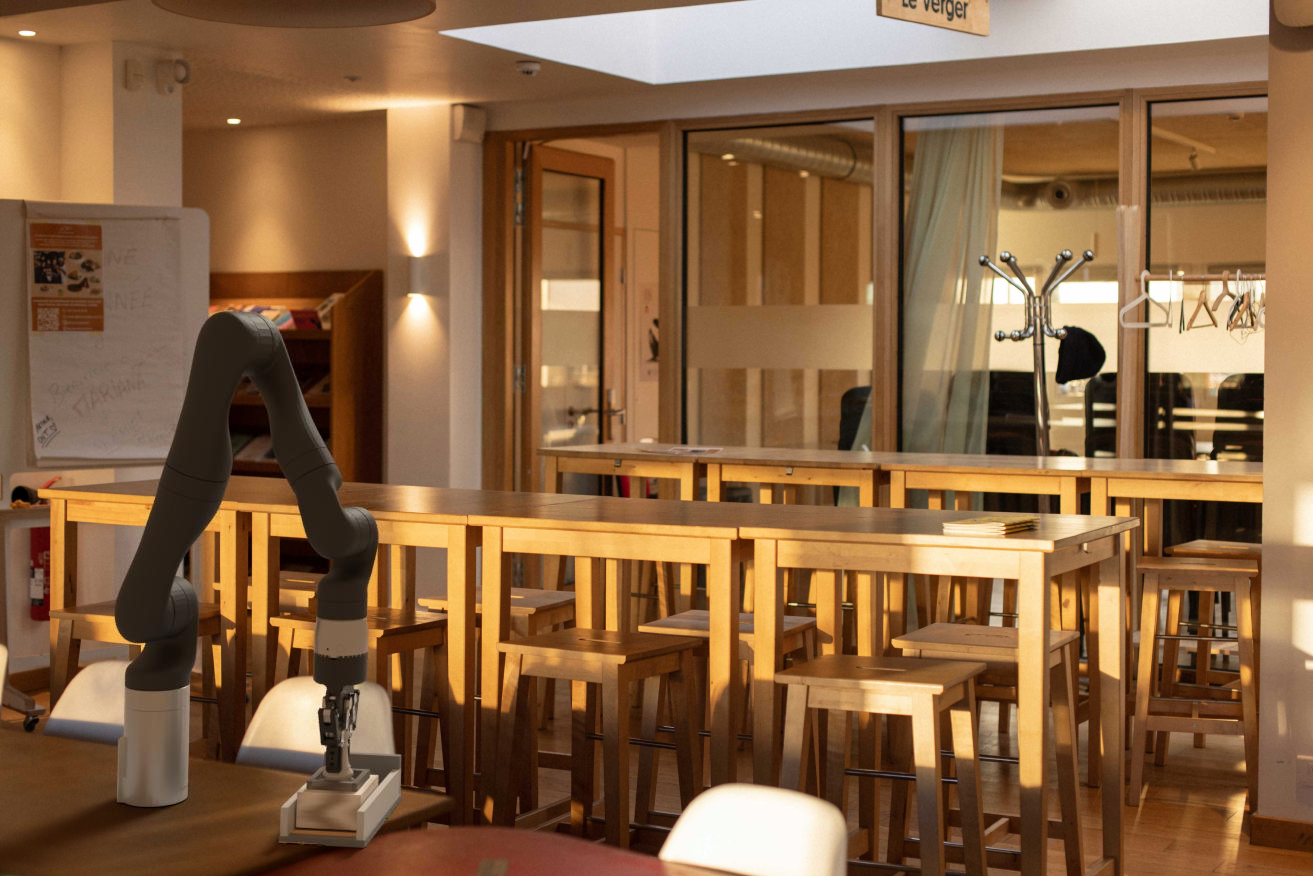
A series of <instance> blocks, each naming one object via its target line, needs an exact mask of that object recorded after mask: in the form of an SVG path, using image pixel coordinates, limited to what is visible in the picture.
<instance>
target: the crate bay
mask: <svg viewBox="0 0 1313 876" xmlns="http://www.w3.org/2000/svg"><path fill="white" fill-rule="evenodd" d="M323 754H324V755H323V756H324V757H323V766H322V767H326V750H325V751H324V753H323ZM349 764H350V766H351V767H350V768H353V769H370V775H378V787H377V788H376V790H375V791H374V792H373V793H372V794H371V795H370V797H369V798H368V799H367V800H366V801H365V803H364V804H363V805H362V806H361V807H360V808H359V810H358V811H357V830H338V829H319V828H300V827H296V816H297V792H298V791H299V790H300V789H301V788H302V787H303V786H304V785H305V784H306V783H307V781H306V782H305V783H304V784H303V785H302V786H301V787H300V788H299V789H298V790H297V791H296V792H295V793H294V794H293V795H292V796H291V797H290V798H288V799H287V801H286V802H284V804H283V805H282V806H280V818H279V819H280V822H279V824H280V828H279V835H278V842H279V841H285V842H286V841H287V842H301V843H302V842H304V843H305V842H306V843H318V844H323V845H325V846H327V847H342V848H344V847H345V848H360V849H361V848H362V849H363V848H364V849H365V848H366V846H368V844H369V843H370V841H371V840H372V839H373V838H374V836H375V835H376V834H377V832H379V830H380V829H381V827H382V826H383V825H384V823H385V822H386V821H385V819H386V818H387V817H388V816H389V815H392V813H393V812H394V810H395V809H396V808H395V807H398V805H399V804H400V803H401V801H402V793H401V783H402V782H401V781H402V780H401V779H402V775H401V774H402V754H399V753H397V754H395V753H378V752H377V753H376V752H359V751H358V752H356V751H350V762H349ZM399 802H400V803H399ZM394 808H395V809H394ZM392 811H393V812H392ZM391 812H392V813H391ZM389 817H390V816H389ZM389 817H388V818H389ZM388 818H387V819H388ZM387 819H386V820H387ZM384 821H385V822H384ZM323 845H322V846H323ZM325 846H324V847H325Z"/></svg>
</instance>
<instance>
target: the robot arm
mask: <svg viewBox="0 0 1313 876" xmlns="http://www.w3.org/2000/svg"><path fill="white" fill-rule="evenodd" d="M282 336H283V335H282V334H281V332H280V330H279V328H278V326H277V325H276V324H275V323H274V321H273V320H272V319H270V318H269V317H267V316H266V315H264V314H261V313H257V312H250V311H249V312H247V311H233V310H229V311H228V310H222V311H218V312H216V313H214V314H212V315H210V317H208V318H207V319H206V320H205V322H204V323H203V325H202V326H201V328H200V330H199V332H198V335H197V338H196V339H197V340H196V342H195V346H194V352H193V355H192V360H191V361H192V363H191V366H190V367H191V368H190V370H189V371H190V372H189V373H190V374H189V376H188V378H189V379H188V383H187V387H186V392H185V396H184V400H183V404H182V407H181V411H180V415H179V417H178V421H177V425H176V429H175V431H174V434H173V439H172V441H171V442H172V443H171V445H170V448H169V450H168V453H167V455H166V458H165V462H164V466H163V468H162V471H161V474H160V478H159V481H158V485H157V489H156V493H155V496H154V497H155V498H154V500H153V503H152V505H151V509H150V512H149V514H148V518H147V521H146V524H145V527H144V530H143V533H142V536H141V538H140V542H139V543H138V547H137V550H136V552H135V554H134V556H133V558H132V561H131V564H130V566H129V568H128V570H127V572H126V575H125V577H124V578H123V581H122V583H121V586H120V588H119V591H118V593H117V597H116V599H115V603H114V604H115V605H114V622H115V627H116V629H117V631H118V634H120V637H122V638H123V639H124V640H126V641H127V642H129V643H132V644H144V646H143V648H142V650H141V652H140V653H139V654H138V656H137V657H136V658H134V660H132V662H131V663H129V664H128V666H127V667H126V669H125V671H124V703H123V704H124V711H123V713H124V715H123V735H122V736H120V737H119V738H118V741H117V775H116V776H117V777H116V778H117V780H116V781H117V787H116V789H117V790H116V802H117V803H124V804H126V805H128V806H129V805H130V806H134V807H145V808H146V807H147V808H150V807H151V808H153V807H155V808H156V807H163V806H164V807H165V806H169V805H174V804H178V803H180V802H183V801H184V800H186V799H187V798H188V786H189V747H190V745H189V744H190V743H189V741H190V698H191V696H190V694H191V693H190V692H191V684H190V683H191V674H192V671H193V668H194V667H195V663H196V661H197V652H198V639H199V637H198V636H199V626H200V625H199V623H200V605H199V600H198V595H197V592H196V591H195V588H194V586H193V585H192V584H191V583H190V582H189V581H188V580H187V579H185V578H184V577H181V576H178V575H177V572H178V570H179V568H180V565H181V563H182V562H183V560H184V559H185V556H186V554H187V553H188V552H189V550H190V549H191V547H193V545H194V543H196V541H197V540H198V539H199V538H200V536H201V535H202V534H203V532H204V531H205V530H206V529H207V527H208V526H209V525H210V523H211V522H212V520H213V519H214V518H215V516H216V514H217V513H218V511H219V509H220V507H221V505H222V501H223V499H224V497H225V494H226V490H227V487H228V484H229V481H230V477H231V475H232V471H233V470H232V469H233V447H232V441H231V436H230V435H231V434H230V429H229V427H230V426H229V415H230V409H231V404H232V402H233V398H234V395H235V392H236V389H237V386H238V384H239V382H240V379H241V377H243V376H244V377H245V376H246V377H247V378H248V379H249V381H251V383H252V384H253V386H254V387H255V389H256V390H257V392H258V393H259V395H260V397H261V399H262V401H263V403H264V406H265V408H266V411H267V416H268V421H269V431H270V440H271V441H270V442H271V446H272V449H273V452H274V453H273V454H274V456H275V459H276V462H277V463H278V465H279V468H280V470H281V471H282V473H283V475H284V477H285V479H286V481H287V483H288V484H289V486H290V488H291V490H292V492H293V493H294V495H295V497H296V501H297V502H296V503H297V506H298V511H299V515H300V519H301V522H302V527H303V530H304V533H305V537H306V538H307V541H308V543H309V544H310V546H311V547H312V548H313V549H314V551H315V552H316V553H317V554H318V555H320V556H321V557H322V558H324V559H327V560H332V561H331V565H330V569H329V572H328V573H326V575H324V576H322V577H321V579H320V580H319V581H318V584H317V591H316V596H317V597H316V621H315V627H314V633H313V667H312V669H313V670H312V671H313V672H312V679H313V681H314V682H315V683H316V684H318V685H323V686H324V687H326V691H325V695H323V697H322V704H321V707H318V710H317V716H318V718H317V719H318V729H319V739H320V740H319V741H320V745H321V746H324V747H325V748H326V749H325V751H326V772H328V773H340V772H341V771H342V763H343V744H344V741H343V740H344V731H345V730H346V729H347V728H349V732H350V733H351V735H350V737H349V738H348V744H349V746H348V761H349V762H350V752H351V739H352V738H353V735H354V731H355V730H356V728H357V719H358V711H359V702H360V695H361V692H360V691H361V690H360V689H358V688H357V689H356V688H355V686H357V685H361V684H364V683H365V682H366V681H367V679H368V669H369V668H368V663H369V662H368V661H369V658H368V657H369V626H368V599H369V597H368V596H369V595H368V591H369V589H368V588H369V583H370V580H371V577H372V574H373V569H374V565H375V563H376V557H377V553H378V548H379V538H380V537H379V527H378V524H377V521H376V518H375V517H374V515H373V514H372V513H371V512H370V511H369V510H367V509H366V508H364V507H361V506H348V507H343V506H342V504H341V501H340V498H339V495H338V491H339V490H340V489H341V487H342V485H343V476H342V474H341V472H340V470H339V467H338V466H337V463H336V462H335V460H334V458H333V456H332V455H331V452H330V451H329V449H328V447H327V445H326V443H325V441H324V440H323V438H322V436H321V435H320V432H319V430H318V428H317V426H316V423H315V422H314V420H313V418H312V415H311V413H310V411H309V408H308V405H307V404H306V401H305V397H304V395H303V392H302V390H301V387H300V384H299V381H298V379H297V375H296V374H295V370H294V367H293V364H292V362H291V358H290V356H289V352H288V349H287V347H286V343H285V342H284V339H283V337H282ZM330 733H333V734H334V737H330Z"/></svg>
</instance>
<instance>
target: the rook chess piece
mask: <svg viewBox="0 0 1313 876" xmlns="http://www.w3.org/2000/svg"><path fill="white" fill-rule="evenodd" d="M350 735H351V733H350V732H349V728H347V729H346V730H345V731H344V740H343V741H344V744H343V763H342V771H341V772H340V773H328V772H326V769H325V770H324V771H323V776H324V777H325V778H323V779H322V780H332V781H351V782H353V781H354V779H353V778H352V777H351V776H352V775H353V774H354V773H353V770H352V769H351V768H350V767H351V766H350V764H349V761H348V746H349V744H348V738H349V737H350ZM330 737H334V734H333V733H330ZM349 739H350V738H349Z"/></svg>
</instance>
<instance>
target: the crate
mask: <svg viewBox="0 0 1313 876" xmlns="http://www.w3.org/2000/svg"><path fill="white" fill-rule="evenodd" d="M325 769H326V767H323V766H321V767H319V768H318V769H317V770H316V771H315V773H313V774H312V775H311V776H310V777H309V778H308V779H307V780H306V782H307V783H306V782H305V783H306V784H305V783H304V784H305V785H304V784H303V785H304V786H303V785H302V786H303V787H302V786H301V787H302V788H301V787H300V788H301V789H300V788H299V789H300V790H299V789H298V790H299V791H298V790H297V791H298V792H297V791H296V792H297V816H296V827H300V828H319V829H338V830H357V811H358V810H359V808H360V807H361V806H362V805H363V804H364V803H365V801H366V800H367V799H368V798H369V797H370V795H371V794H372V793H373V792H374V791H375V790H376V788H377V787H378V775H370V769H353V768H351V769H352V770H353V773H354V774H353V775H352V776H351V777H352V778H353V779H354V781H353V782H351V781H332V780H322V779H323V778H325V777H324V776H323V771H324V770H325Z"/></svg>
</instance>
